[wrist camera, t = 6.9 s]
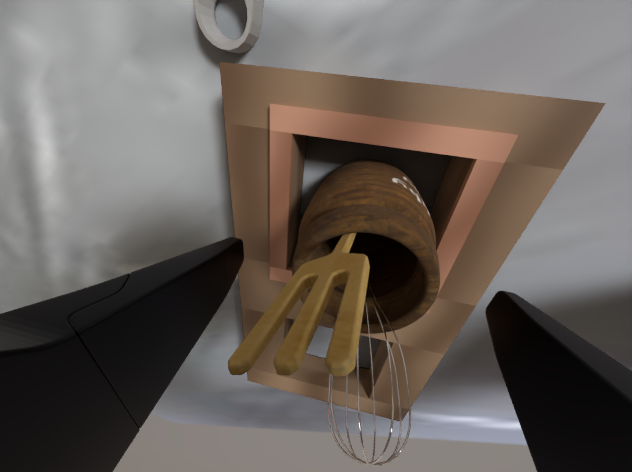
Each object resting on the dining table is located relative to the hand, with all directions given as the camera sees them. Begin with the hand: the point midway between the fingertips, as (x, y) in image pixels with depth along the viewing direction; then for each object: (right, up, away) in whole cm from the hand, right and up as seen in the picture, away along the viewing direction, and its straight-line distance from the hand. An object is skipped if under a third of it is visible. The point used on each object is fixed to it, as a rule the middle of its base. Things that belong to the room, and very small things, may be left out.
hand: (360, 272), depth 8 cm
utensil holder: (+1, +3, +6) cm, 7 cm away
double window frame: (+1, -2, +9) cm, 9 cm away
